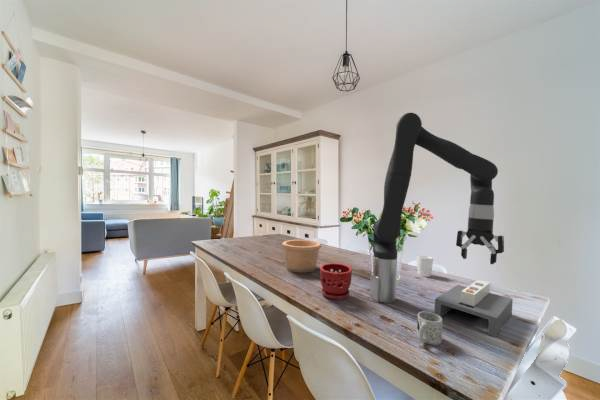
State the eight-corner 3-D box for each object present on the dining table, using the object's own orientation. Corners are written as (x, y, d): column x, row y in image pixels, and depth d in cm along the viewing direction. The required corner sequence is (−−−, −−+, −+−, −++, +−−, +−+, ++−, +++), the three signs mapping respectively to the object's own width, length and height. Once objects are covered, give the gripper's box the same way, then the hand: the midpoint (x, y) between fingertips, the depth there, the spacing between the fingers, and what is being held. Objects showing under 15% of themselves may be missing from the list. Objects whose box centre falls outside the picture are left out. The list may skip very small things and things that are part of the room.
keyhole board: (495, 337, 79) (496, 318, 79) (434, 315, 92) (434, 298, 92) (511, 314, 95) (512, 298, 95) (457, 298, 108) (457, 284, 108)
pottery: (321, 275, 134) (322, 247, 134) (279, 273, 135) (280, 246, 134) (319, 263, 156) (320, 240, 156) (283, 262, 156) (283, 239, 156)
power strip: (473, 314, 87) (474, 293, 87) (460, 310, 90) (461, 289, 90) (489, 299, 100) (490, 281, 100) (477, 296, 103) (477, 278, 103)
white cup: (413, 272, 144) (414, 255, 143) (426, 272, 144) (427, 255, 144) (421, 277, 136) (422, 258, 135) (435, 277, 136) (436, 258, 136)
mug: (422, 330, 82) (422, 309, 82) (444, 339, 77) (445, 317, 77) (408, 341, 75) (409, 319, 75) (432, 352, 70) (433, 328, 70)
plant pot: (315, 290, 113) (316, 263, 112) (344, 289, 115) (344, 262, 115) (324, 303, 100) (325, 272, 100) (356, 301, 103) (357, 271, 102)
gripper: (455, 215, 97) (452, 258, 97) (502, 219, 86) (499, 267, 87) (462, 215, 102) (459, 255, 102) (507, 218, 91) (504, 264, 91)
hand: (477, 261), depth 94 cm, fingers open, 8 cm apart
